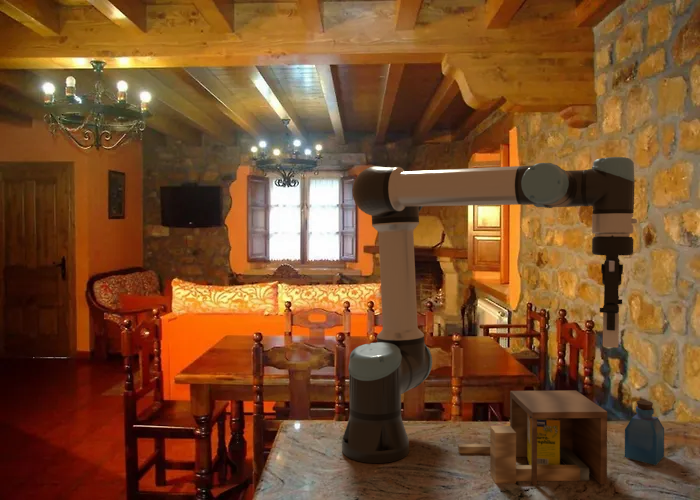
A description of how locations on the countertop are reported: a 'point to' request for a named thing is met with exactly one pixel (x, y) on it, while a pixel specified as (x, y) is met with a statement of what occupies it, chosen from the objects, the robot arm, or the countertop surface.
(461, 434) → the countertop surface
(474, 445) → the plain oak stick
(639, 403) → the perfume bottle
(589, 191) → the robot arm
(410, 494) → the countertop surface
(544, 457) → the supplement box
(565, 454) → the oak crook
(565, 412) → the walnut box
